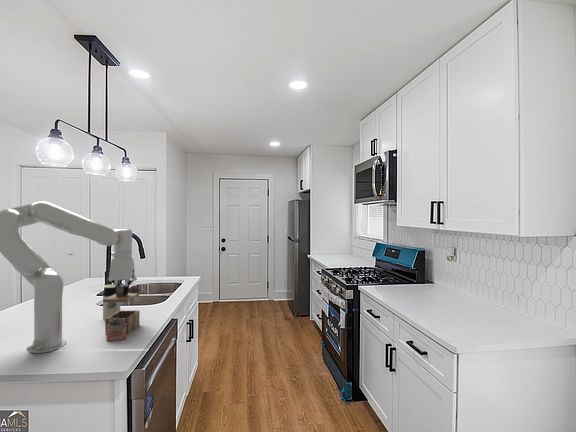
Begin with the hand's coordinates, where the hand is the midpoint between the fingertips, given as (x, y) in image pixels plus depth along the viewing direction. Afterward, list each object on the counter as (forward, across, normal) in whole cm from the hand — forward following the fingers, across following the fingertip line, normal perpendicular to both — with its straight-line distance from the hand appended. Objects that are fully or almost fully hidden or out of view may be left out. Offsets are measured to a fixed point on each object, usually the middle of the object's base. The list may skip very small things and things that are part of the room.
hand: (122, 293), depth 160 cm
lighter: (+18, +4, -12) cm, 22 cm away
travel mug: (+18, -13, +19) cm, 29 cm away
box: (+18, +1, +1) cm, 18 cm away
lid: (+2, 0, 0) cm, 2 cm away
